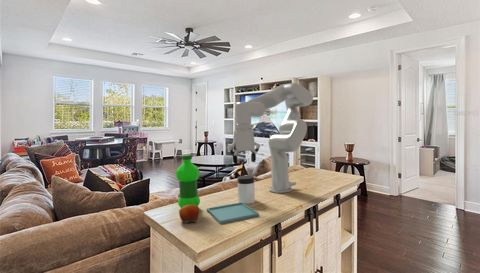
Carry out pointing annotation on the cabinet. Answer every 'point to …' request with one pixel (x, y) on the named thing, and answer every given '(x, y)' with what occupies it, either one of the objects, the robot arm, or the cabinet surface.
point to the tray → (232, 212)
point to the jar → (246, 189)
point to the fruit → (189, 213)
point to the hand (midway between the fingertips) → (244, 162)
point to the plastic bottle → (188, 182)
